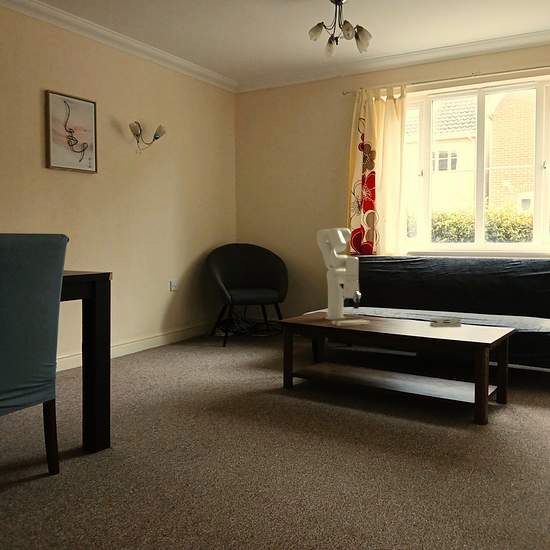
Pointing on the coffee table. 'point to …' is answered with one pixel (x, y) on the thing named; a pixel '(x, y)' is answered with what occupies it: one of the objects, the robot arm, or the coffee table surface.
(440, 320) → the grey rounded slab
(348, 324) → the cabinet panel
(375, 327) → the coffee table surface
